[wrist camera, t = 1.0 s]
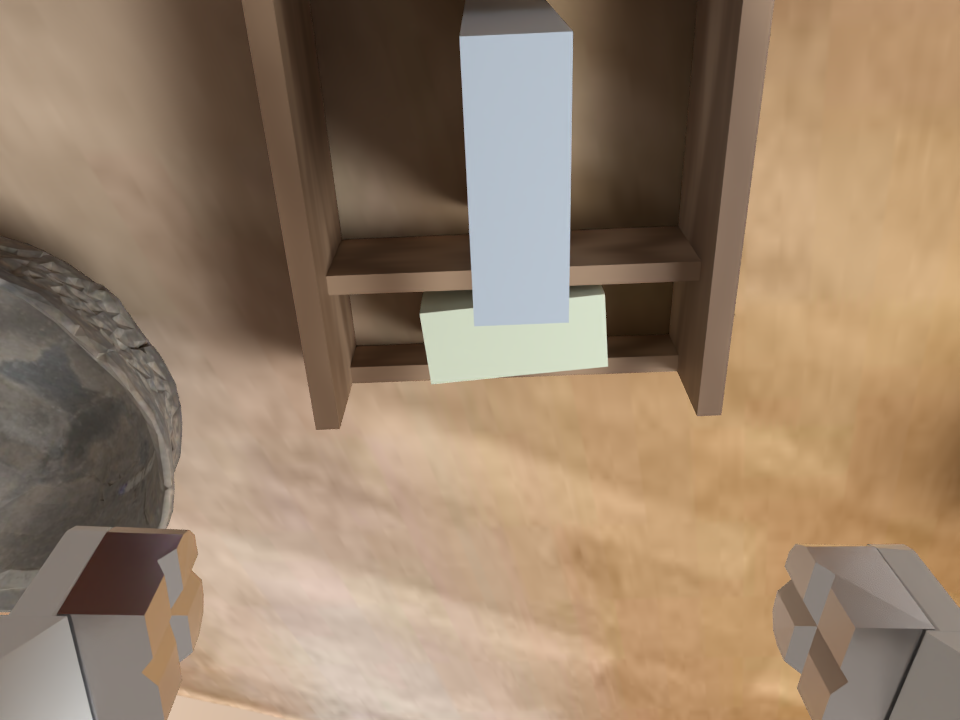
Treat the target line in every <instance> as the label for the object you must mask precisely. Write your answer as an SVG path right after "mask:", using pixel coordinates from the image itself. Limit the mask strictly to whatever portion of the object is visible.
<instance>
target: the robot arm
mask: <svg viewBox="0 0 960 720" xmlns="http://www.w3.org/2000/svg"><path fill="white" fill-rule="evenodd" d="M197 555H198V551H197V546H196V540H195V535H194V534H193V533H192V532H191V531H190V530H178V529H155V528H133V527H114V528H112V527H97V526H75V527H73V528H71V529H69V530H67V531H66V532H65V534H64V535H63V537H62V538H61V539H60V541H59V542H58V544H57V545H56V547H55V548H54V550H53V551H52V553H51V554H50V555H49V557H48V558H47V560H46V561H45V563H44V564H43V566H42V567H41V569H40V570H39V571H38V573H37V574H36V576H35V577H34V579H33V580H32V582H31V583H30V585H29V586H28V587H27V589H26V590H25V592H24V593H23V595H22V596H21V598H20V599H19V601H18V602H17V603H16V605H15V606H14V608H13V609H12V611H11V612H10V614H9V615H0V720H167V718H168V716H169V713H170V711H171V708H172V705H173V703H174V700H175V697H176V695H177V692H178V690H179V687H180V685H181V682H182V675H181V669H180V662H181V661H182V660H183V659H185V658H186V657H187V656H188V655H190V654H191V653H192V652H193V650H194V647H195V645H196V642H197V639H198V636H199V633H200V627H201V622H202V616H203V598H204V594H203V586H202V580H201V579H200V578H199V577H198V576H197V575H196V574H195V573H194V572H193V571H192V567H193V565H194V562H195V560H196V558H197ZM785 568H786V570H787V572H788V573H789V575H790V577H791V580H790V581H789V582H788V583H786V584H785V585H784V586H783V587H782V588H781V589H779V590H778V591H777V595H776V599H775V603H774V607H773V631H774V635H775V639H776V643H777V646H778V648H779V650H780V653H781V655H782V657H783V659H784V661H785V662H786V663H788V664H789V665H790V666H792V667H793V668H794V669H795V670H797V671H798V672H799V673H801V677H800V680H799V683H798V687H797V689H798V691H799V693H800V695H801V697H802V699H803V702H804V704H805V706H806V708H807V710H808V712H809V714H810V716H811V718H812V720H960V608H959V607H958V606H957V604H956V603H955V602H954V601H953V599H952V598H951V597H950V596H949V594H948V593H947V592H946V591H945V589H944V588H943V587H942V585H941V584H940V583H939V582H938V580H937V579H936V578H935V577H934V575H933V574H932V573H931V571H930V570H929V569H928V568H927V566H926V565H925V564H924V563H923V561H922V560H921V559H920V558H919V556H918V555H917V554H916V552H915V551H914V550H913V549H911V548H910V547H908V546H906V545H904V544H867V545H836V544H795V545H794V547H793V548H792V549H791V550H790V552H789V554H788V558H787V561H786V564H785Z"/></svg>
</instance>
